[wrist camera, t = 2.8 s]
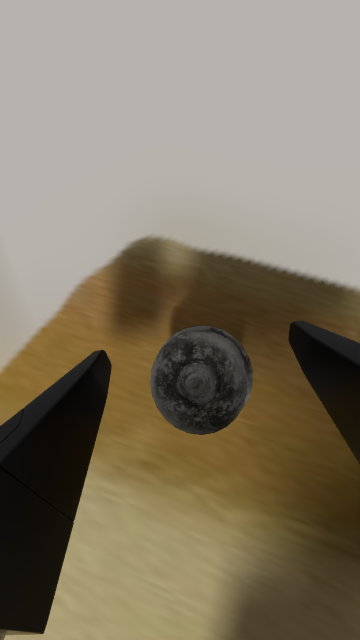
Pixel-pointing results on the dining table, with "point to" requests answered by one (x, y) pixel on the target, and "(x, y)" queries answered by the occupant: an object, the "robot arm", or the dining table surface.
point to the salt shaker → (201, 379)
